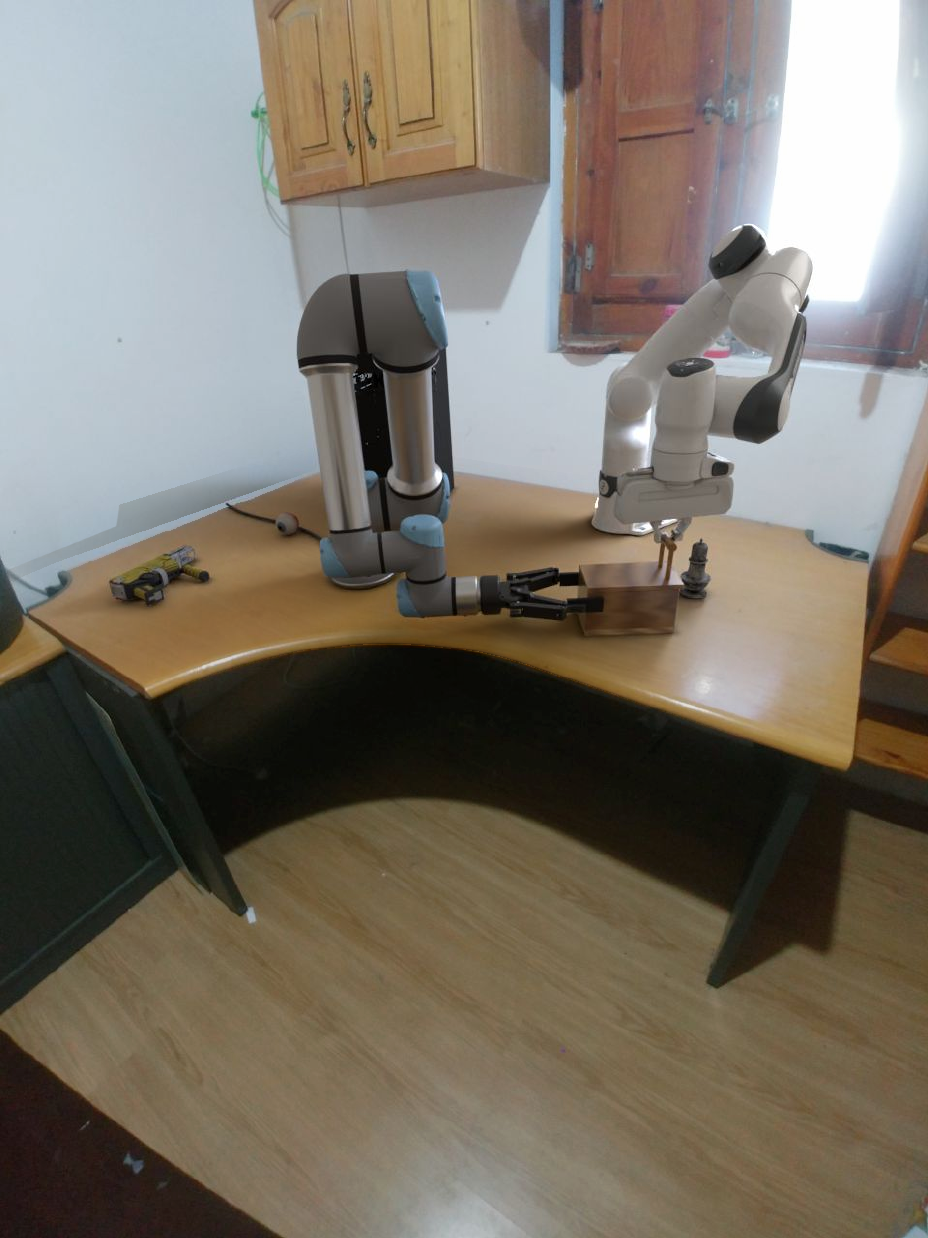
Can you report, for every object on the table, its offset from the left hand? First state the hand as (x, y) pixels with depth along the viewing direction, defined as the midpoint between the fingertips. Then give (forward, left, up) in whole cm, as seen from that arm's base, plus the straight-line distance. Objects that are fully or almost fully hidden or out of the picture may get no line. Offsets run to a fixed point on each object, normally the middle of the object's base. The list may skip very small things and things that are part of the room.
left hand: (597, 590), depth 113 cm
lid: (+5, +2, +2) cm, 6 cm away
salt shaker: (+16, +18, -7) cm, 25 cm away
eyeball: (-90, +17, -7) cm, 91 cm away
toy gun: (-95, -17, -7) cm, 97 cm away
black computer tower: (-69, +46, -7) cm, 84 cm away
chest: (+5, +2, -7) cm, 9 cm away
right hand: (+11, +5, +10) cm, 15 cm away
